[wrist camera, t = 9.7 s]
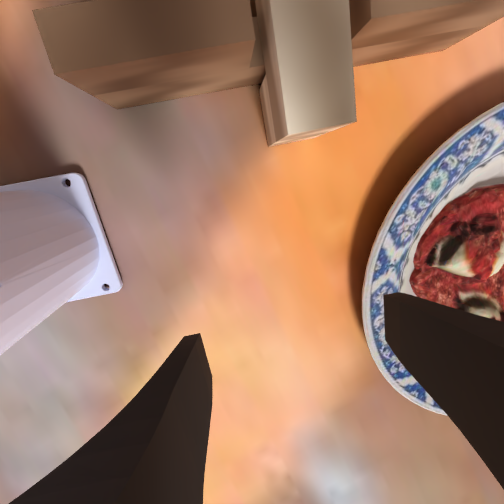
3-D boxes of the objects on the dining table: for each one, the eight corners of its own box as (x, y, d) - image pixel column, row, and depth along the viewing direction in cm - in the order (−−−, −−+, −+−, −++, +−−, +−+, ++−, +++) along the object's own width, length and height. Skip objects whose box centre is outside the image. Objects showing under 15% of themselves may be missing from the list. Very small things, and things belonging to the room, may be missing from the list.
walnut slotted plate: (117, 109, 16) (54, 74, 10) (105, 70, 15) (32, 10, 10) (443, 50, 16) (558, -15, 11) (444, 10, 16) (567, -80, 10)
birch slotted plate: (267, 146, 17) (288, 134, 11) (236, -54, 14) (242, -205, 8) (313, 137, 17) (356, 121, 12) (291, -63, 14) (334, -220, 9)
